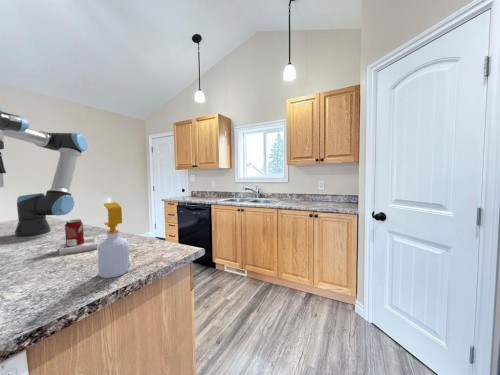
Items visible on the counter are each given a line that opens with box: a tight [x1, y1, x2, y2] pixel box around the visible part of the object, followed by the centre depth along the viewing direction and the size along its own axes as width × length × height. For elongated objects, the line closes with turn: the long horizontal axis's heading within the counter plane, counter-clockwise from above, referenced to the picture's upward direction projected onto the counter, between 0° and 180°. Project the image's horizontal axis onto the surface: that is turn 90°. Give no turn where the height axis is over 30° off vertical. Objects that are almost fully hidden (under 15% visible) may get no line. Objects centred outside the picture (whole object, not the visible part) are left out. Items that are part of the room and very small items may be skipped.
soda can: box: [64, 218, 85, 247], centre depth 106 cm, size 7×7×12 cm
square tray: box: [58, 236, 99, 256], centre depth 106 cm, size 13×13×2 cm
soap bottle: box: [97, 201, 130, 279], centre depth 78 cm, size 9×9×25 cm
